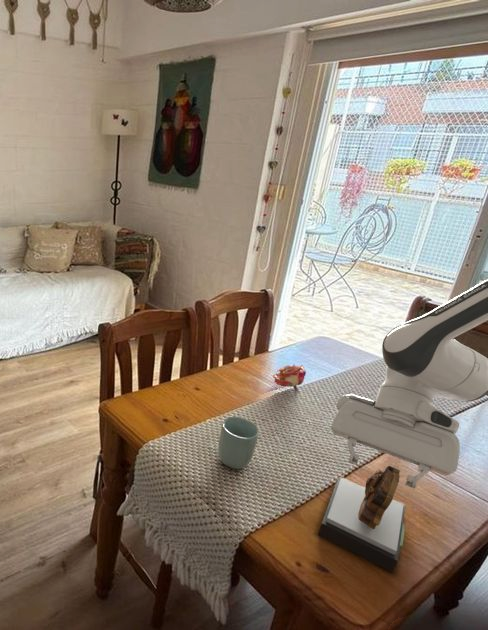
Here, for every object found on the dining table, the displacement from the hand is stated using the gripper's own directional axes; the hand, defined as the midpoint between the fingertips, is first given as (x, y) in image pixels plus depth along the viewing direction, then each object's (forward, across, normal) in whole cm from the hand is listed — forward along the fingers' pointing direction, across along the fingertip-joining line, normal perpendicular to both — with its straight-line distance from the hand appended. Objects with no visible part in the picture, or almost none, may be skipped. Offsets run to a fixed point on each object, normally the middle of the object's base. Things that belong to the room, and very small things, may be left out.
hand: (380, 474), depth 85 cm
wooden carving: (+8, 0, +3) cm, 8 cm away
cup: (+9, -26, +6) cm, 29 cm away
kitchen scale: (+10, 0, +6) cm, 11 cm away
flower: (-22, -26, +37) cm, 51 cm away
